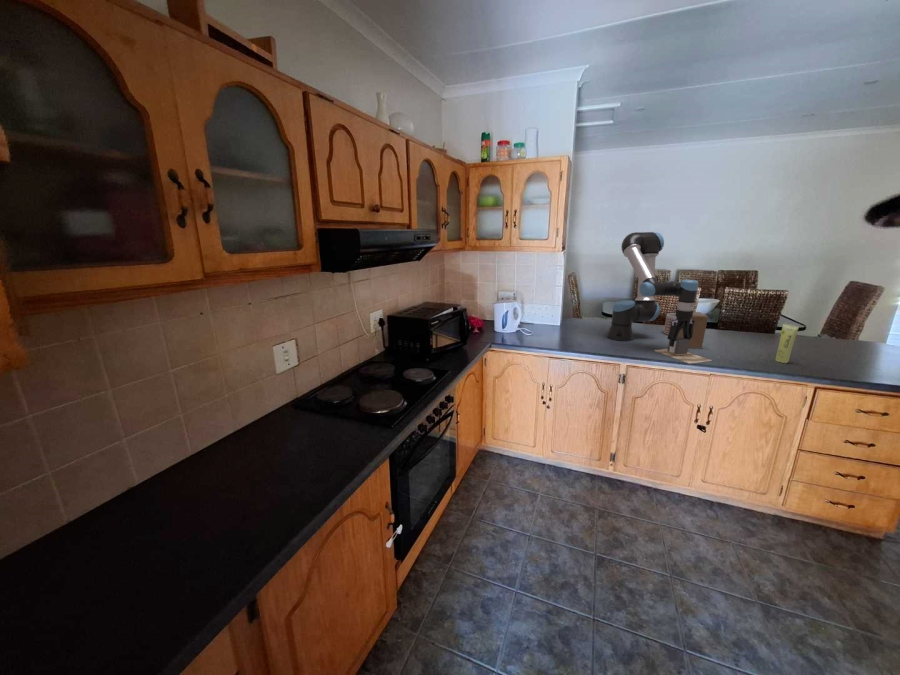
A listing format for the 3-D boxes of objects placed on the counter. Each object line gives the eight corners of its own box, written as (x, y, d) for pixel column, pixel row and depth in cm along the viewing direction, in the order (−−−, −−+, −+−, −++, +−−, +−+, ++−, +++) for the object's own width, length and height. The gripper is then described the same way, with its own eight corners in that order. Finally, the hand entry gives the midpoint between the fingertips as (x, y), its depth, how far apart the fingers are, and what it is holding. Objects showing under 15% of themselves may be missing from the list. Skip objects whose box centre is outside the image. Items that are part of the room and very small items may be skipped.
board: (653, 352, 198) (653, 350, 198) (674, 349, 202) (674, 347, 202) (689, 365, 178) (689, 363, 178) (711, 362, 182) (712, 360, 182)
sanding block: (667, 352, 194) (669, 338, 192) (677, 350, 196) (679, 337, 194) (676, 355, 189) (679, 341, 186) (687, 354, 190) (689, 339, 188)
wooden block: (702, 350, 201) (709, 315, 195) (682, 349, 203) (689, 315, 197) (694, 344, 210) (700, 311, 204) (675, 343, 212) (681, 311, 206)
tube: (773, 361, 182) (783, 324, 177) (773, 359, 186) (783, 322, 180) (788, 364, 179) (799, 326, 173) (788, 361, 182) (798, 324, 177)
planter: (687, 333, 234) (691, 314, 230) (688, 338, 223) (691, 318, 219) (664, 330, 241) (667, 312, 237) (662, 335, 230) (666, 316, 226)
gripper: (676, 312, 179) (668, 355, 186) (706, 310, 185) (698, 351, 191) (663, 309, 186) (657, 351, 193) (693, 307, 192) (685, 347, 198)
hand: (677, 351), depth 192 cm, fingers closed on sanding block, 7 cm apart
